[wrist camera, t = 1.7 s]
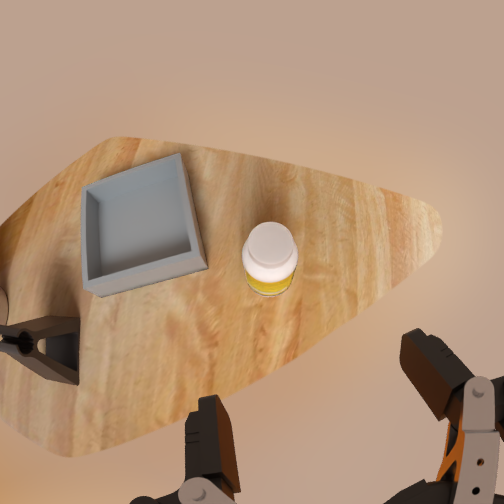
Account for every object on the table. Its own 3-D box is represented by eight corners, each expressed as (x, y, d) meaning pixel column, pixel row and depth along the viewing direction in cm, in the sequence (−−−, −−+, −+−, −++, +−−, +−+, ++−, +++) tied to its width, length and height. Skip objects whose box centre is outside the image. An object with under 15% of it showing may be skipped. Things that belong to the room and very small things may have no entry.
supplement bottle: (297, 291, 34) (309, 264, 25) (251, 302, 34) (245, 279, 25) (286, 248, 36) (292, 208, 27) (241, 258, 36) (232, 221, 27)
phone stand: (49, 315, 34) (-11, 294, 23) (81, 318, 34) (20, 296, 23) (47, 378, 31) (-16, 374, 20) (79, 385, 31) (16, 385, 20)
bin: (101, 297, 35) (83, 288, 31) (96, 202, 40) (81, 187, 36) (208, 268, 35) (200, 255, 31) (187, 172, 41) (180, 152, 36)
